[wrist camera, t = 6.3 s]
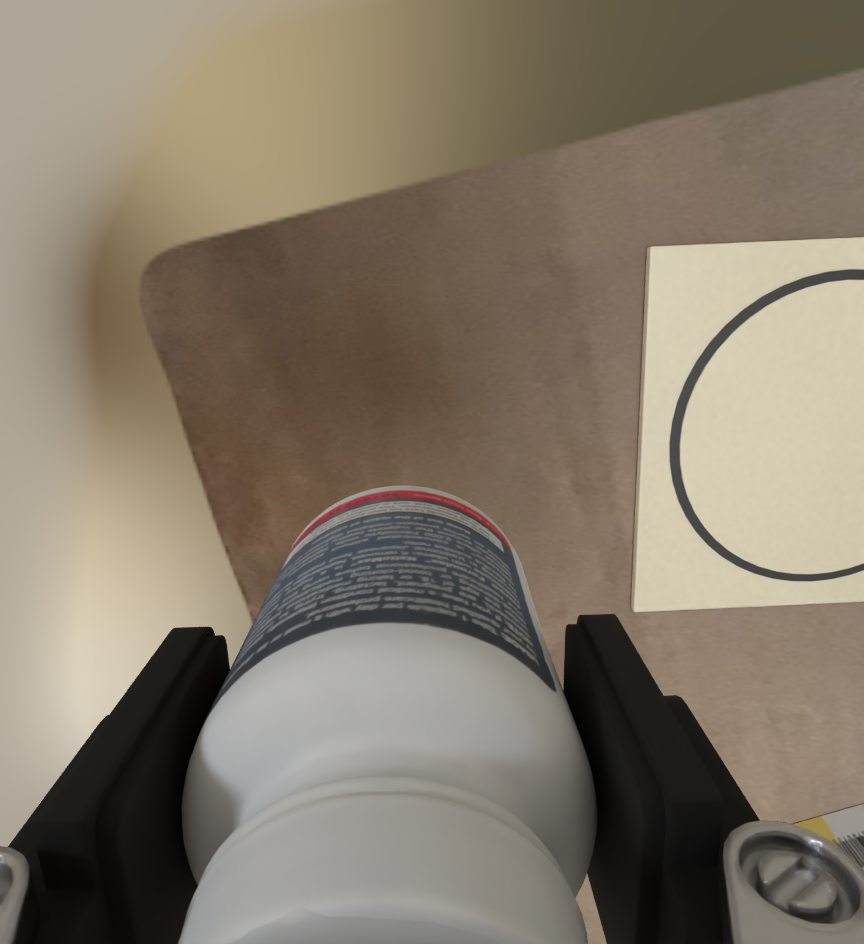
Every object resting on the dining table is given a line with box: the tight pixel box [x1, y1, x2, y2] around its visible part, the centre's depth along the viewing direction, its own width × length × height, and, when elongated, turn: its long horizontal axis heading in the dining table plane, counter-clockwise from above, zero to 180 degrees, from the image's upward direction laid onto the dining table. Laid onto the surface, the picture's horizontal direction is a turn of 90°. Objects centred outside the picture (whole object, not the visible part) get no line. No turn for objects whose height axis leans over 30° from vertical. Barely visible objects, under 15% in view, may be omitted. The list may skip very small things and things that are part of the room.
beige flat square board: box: [631, 237, 864, 612], centre depth 35 cm, size 20×20×1 cm
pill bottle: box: [178, 485, 598, 944], centre depth 10 cm, size 5×5×9 cm
